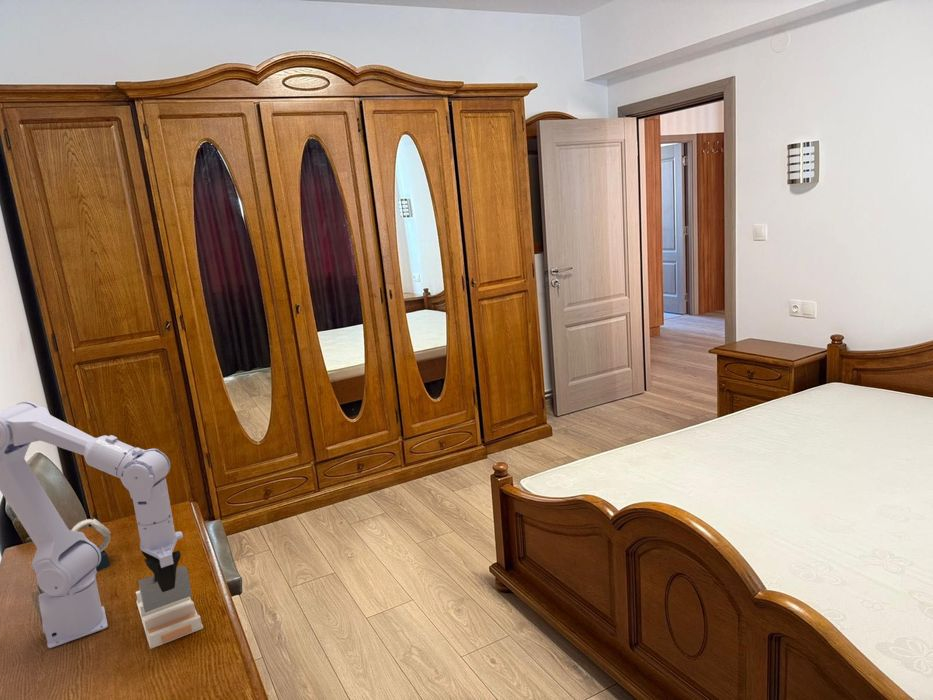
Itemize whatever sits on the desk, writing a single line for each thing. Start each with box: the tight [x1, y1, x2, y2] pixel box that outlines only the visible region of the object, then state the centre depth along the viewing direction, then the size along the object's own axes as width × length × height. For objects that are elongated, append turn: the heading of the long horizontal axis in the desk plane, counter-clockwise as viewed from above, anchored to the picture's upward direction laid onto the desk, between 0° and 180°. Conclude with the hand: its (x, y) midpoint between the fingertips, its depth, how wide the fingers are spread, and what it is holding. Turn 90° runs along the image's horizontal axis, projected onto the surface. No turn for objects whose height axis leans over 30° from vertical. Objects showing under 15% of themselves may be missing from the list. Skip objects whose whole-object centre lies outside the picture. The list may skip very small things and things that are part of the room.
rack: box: [135, 589, 204, 650], centre depth 119 cm, size 9×18×2 cm, turn 35°
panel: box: [137, 564, 193, 612], centre depth 114 cm, size 8×3×5 cm, turn 125°
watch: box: [70, 518, 112, 572], centre depth 138 cm, size 6×8×11 cm
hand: (166, 585), depth 114 cm, fingers closed on panel, 3 cm apart
